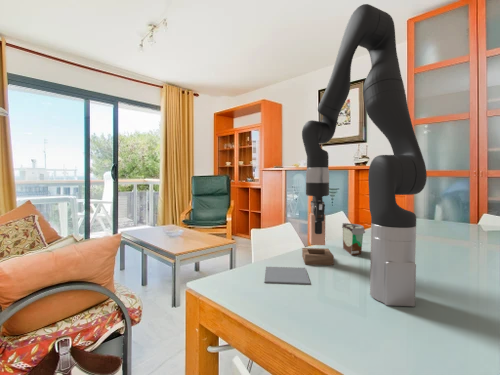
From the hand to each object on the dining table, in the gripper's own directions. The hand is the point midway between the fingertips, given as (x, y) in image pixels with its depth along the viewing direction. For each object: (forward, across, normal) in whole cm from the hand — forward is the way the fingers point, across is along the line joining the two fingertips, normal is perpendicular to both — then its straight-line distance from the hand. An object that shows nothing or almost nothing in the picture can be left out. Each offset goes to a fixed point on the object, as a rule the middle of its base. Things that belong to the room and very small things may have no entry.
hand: (317, 232), depth 91 cm
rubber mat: (+10, -15, +11) cm, 21 cm away
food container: (+10, +12, -16) cm, 23 cm away
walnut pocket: (+10, 0, 0) cm, 10 cm away
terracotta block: (+4, 0, 0) cm, 4 cm away
